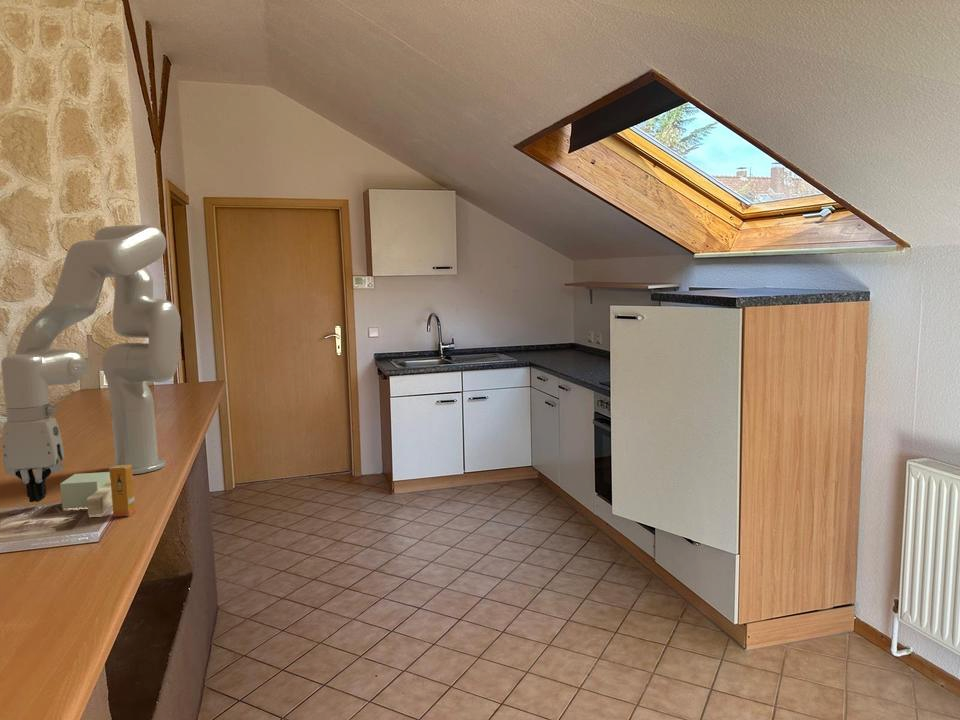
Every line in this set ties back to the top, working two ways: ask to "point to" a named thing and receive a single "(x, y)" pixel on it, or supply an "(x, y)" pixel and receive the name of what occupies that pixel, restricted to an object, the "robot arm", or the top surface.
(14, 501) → the top surface
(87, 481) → the green block
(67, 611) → the top surface
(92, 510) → the birch board
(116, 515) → the supplement box
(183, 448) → the top surface
